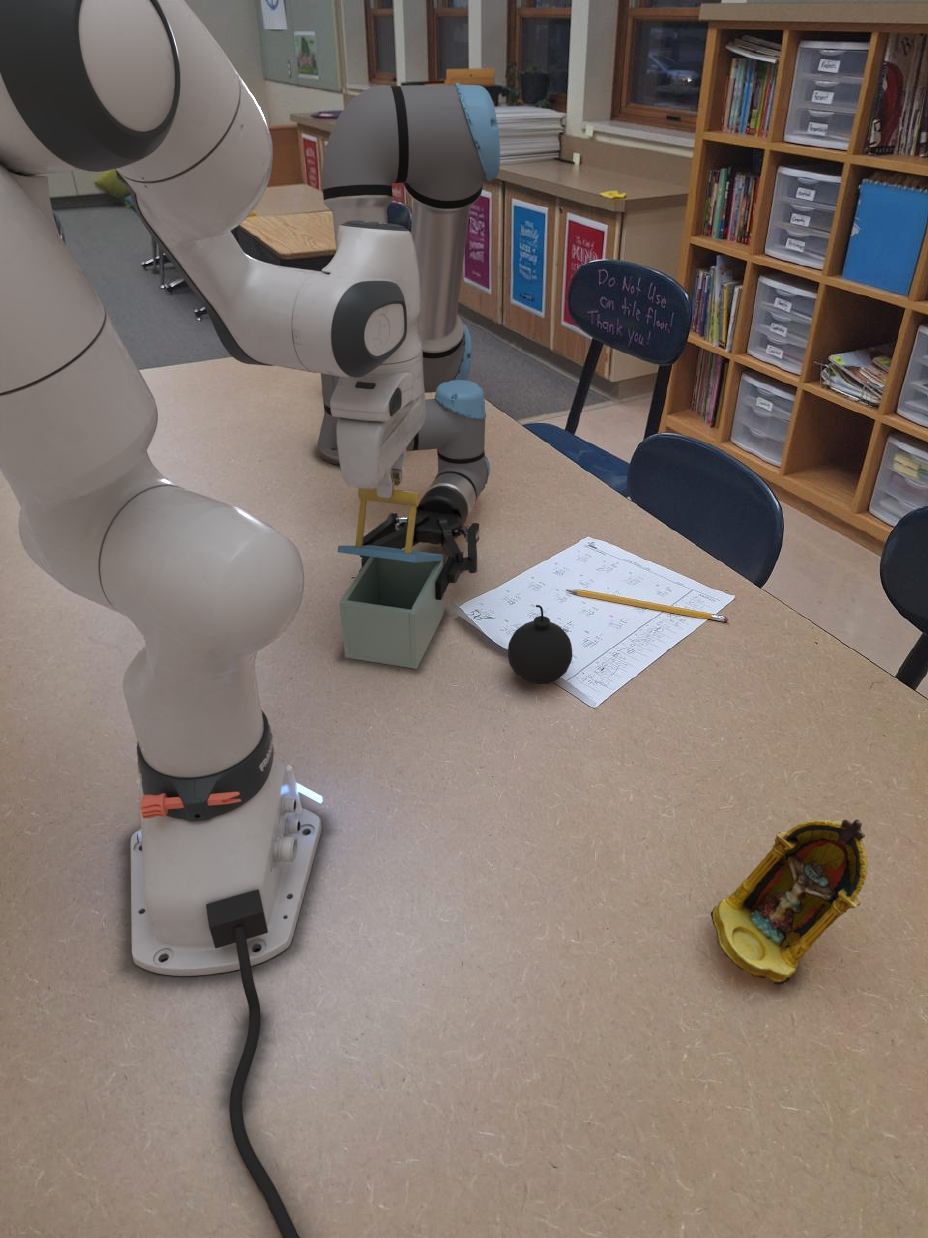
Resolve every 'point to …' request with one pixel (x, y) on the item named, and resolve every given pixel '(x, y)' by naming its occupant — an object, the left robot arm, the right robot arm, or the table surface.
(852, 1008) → the table surface
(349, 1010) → the table surface
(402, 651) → the chest
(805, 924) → the shrine
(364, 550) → the lid
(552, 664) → the bomb
